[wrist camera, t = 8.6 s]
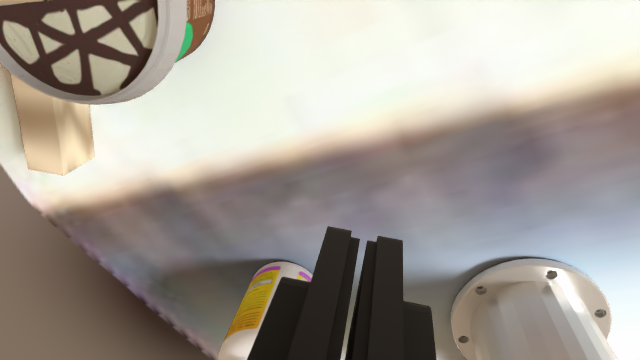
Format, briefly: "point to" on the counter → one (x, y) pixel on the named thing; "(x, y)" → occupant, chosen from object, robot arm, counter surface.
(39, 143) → the maple board
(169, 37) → the food container
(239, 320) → the supplement bottle
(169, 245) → the counter surface
